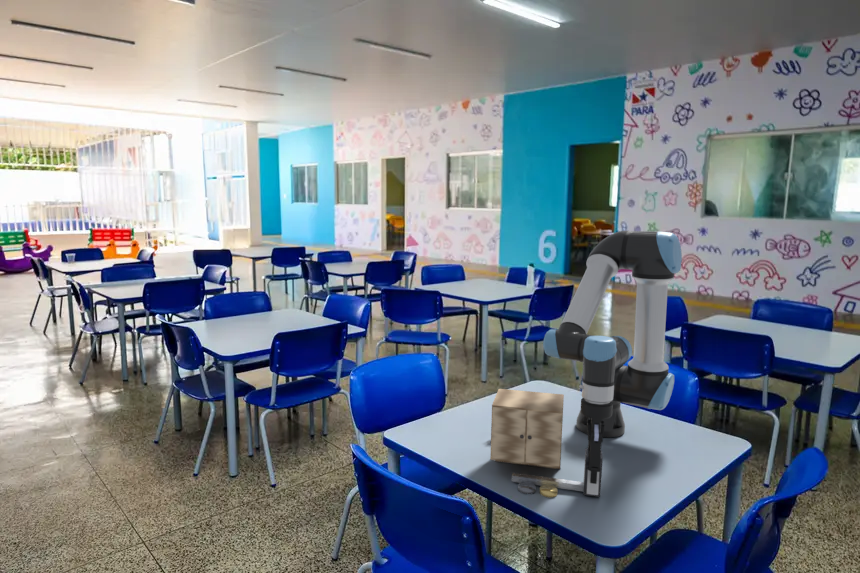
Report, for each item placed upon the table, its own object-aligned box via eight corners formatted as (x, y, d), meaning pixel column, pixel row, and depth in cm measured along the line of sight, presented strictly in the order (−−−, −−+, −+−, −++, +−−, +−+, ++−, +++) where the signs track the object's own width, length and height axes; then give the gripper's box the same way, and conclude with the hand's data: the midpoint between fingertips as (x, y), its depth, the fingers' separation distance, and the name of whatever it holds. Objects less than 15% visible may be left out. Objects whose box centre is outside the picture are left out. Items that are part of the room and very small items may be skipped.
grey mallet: (599, 487, 143) (601, 450, 141) (600, 497, 138) (602, 458, 137) (513, 475, 148) (514, 439, 147) (510, 484, 144) (512, 447, 142)
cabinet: (560, 463, 157) (563, 394, 155) (559, 488, 143) (562, 413, 140) (496, 455, 162) (498, 388, 159) (489, 479, 147) (491, 406, 145)
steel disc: (535, 487, 144) (536, 483, 143) (535, 496, 139) (535, 491, 139) (518, 485, 145) (518, 481, 144) (517, 493, 140) (517, 489, 140)
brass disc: (557, 490, 142) (558, 486, 142) (556, 499, 138) (557, 494, 138) (540, 488, 143) (540, 483, 143) (538, 496, 139) (539, 492, 139)
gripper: (580, 386, 147) (576, 470, 150) (581, 410, 130) (576, 504, 133) (610, 389, 145) (605, 474, 148) (615, 413, 128) (609, 508, 131)
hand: (592, 488), depth 141 cm, fingers closed on grey mallet, 5 cm apart
